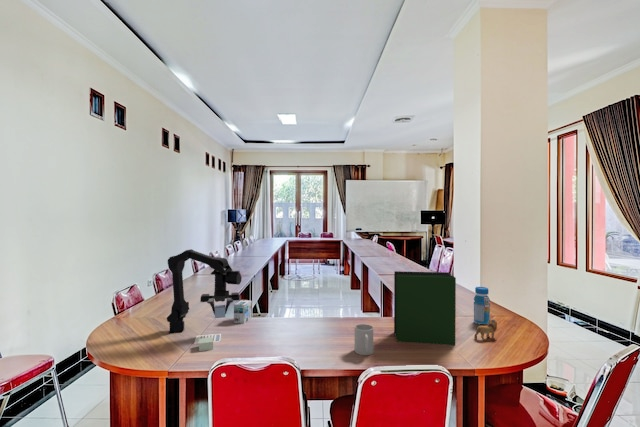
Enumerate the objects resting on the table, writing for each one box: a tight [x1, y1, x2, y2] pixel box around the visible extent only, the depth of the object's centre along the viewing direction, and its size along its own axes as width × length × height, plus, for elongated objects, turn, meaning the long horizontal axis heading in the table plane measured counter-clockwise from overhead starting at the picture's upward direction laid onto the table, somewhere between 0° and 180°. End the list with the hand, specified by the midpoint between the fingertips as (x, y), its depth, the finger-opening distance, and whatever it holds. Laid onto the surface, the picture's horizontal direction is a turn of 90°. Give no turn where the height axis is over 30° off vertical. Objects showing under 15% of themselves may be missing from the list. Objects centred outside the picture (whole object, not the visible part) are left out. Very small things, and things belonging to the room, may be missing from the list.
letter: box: [193, 333, 222, 345], centre depth 165 cm, size 12×11×1 cm
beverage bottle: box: [473, 286, 491, 325], centre depth 191 cm, size 8×8×20 cm
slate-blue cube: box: [214, 304, 226, 319], centre depth 171 cm, size 5×5×5 cm
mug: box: [353, 323, 374, 356], centre depth 150 cm, size 12×8×11 cm
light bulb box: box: [233, 299, 253, 325], centre depth 194 cm, size 11×7×11 cm, turn 168°
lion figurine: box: [473, 318, 498, 342], centre depth 167 cm, size 15×5×9 cm, turn 118°
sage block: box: [198, 337, 214, 352], centre depth 154 cm, size 6×6×4 cm
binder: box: [393, 270, 457, 346], centre depth 168 cm, size 27×15×32 cm, turn 83°
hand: (220, 314), depth 171 cm, fingers closed on slate-blue cube, 5 cm apart
